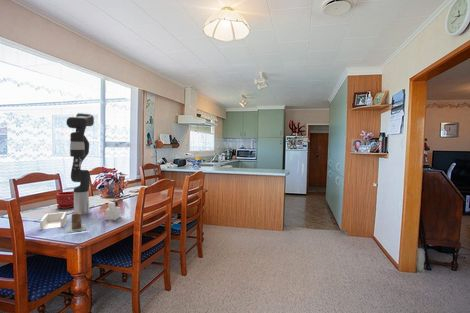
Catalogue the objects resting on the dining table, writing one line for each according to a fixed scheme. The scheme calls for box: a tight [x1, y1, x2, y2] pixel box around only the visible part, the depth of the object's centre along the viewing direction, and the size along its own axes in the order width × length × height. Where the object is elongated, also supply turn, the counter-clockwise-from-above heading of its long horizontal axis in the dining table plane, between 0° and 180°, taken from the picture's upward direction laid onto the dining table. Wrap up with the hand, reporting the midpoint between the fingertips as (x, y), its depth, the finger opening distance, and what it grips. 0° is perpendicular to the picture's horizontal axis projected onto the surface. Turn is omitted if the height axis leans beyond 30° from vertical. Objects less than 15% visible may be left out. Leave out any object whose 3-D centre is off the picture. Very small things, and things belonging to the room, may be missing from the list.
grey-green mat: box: [65, 223, 88, 234], centre depth 139 cm, size 10×10×1 cm
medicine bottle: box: [104, 200, 121, 221], centre depth 161 cm, size 7×7×12 cm
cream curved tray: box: [39, 211, 68, 230], centre depth 145 cm, size 12×16×6 cm
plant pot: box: [56, 191, 74, 209], centre depth 186 cm, size 13×13×12 cm
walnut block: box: [71, 212, 82, 230], centre depth 139 cm, size 4×4×9 cm
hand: (77, 174), depth 145 cm, fingers open, 8 cm apart
